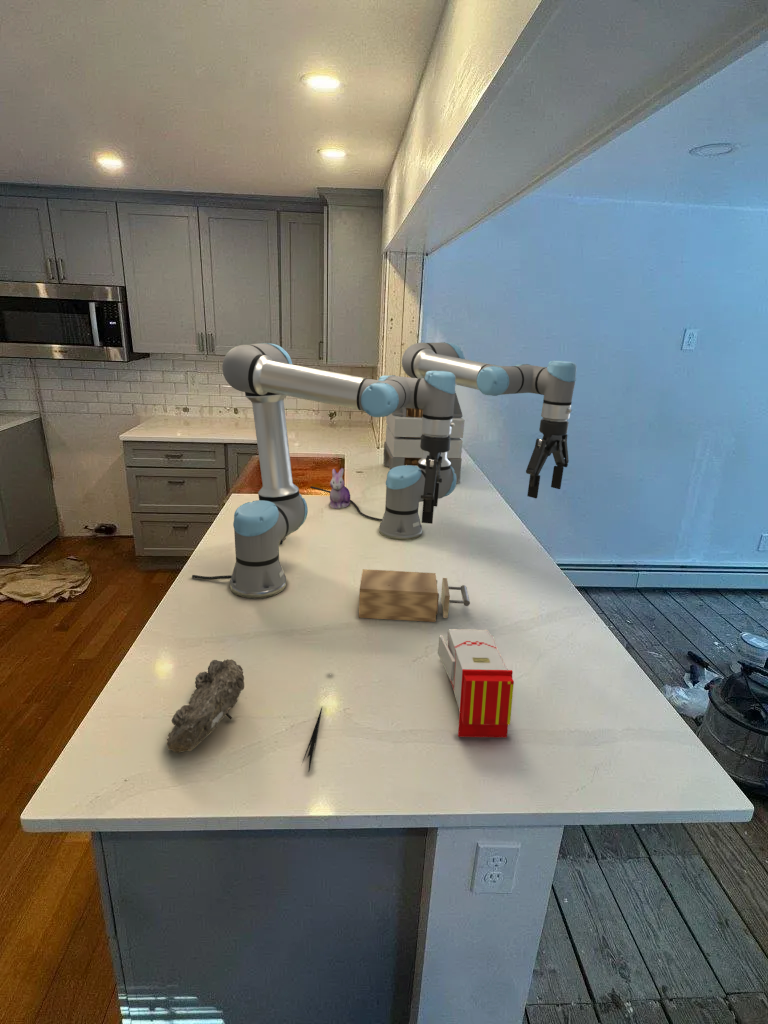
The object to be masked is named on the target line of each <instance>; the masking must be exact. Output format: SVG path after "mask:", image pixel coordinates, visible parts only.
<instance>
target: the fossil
mask: <svg viewBox="0 0 768 1024" xmlns="http://www.w3.org/2000/svg"><path fill="white" fill-rule="evenodd" d="M243 670H244V669H243V667H242V665H240V664H237V662H236V661H235V660H234V659H232V658H231V659H227V658H226V659H224V660H223V661H222V660H217V659H212V660H211V661H210V663H209V665H208V666H207V671H201V672H199V673H198V674H197V675H196V676H195V680H194V684H195V685H194V687H195V689H194V690H193V693H192V694H191V697H190V698H189V700H188V704H184V705H182V706H181V707H180V709H177V710H176V711H175V713H174V715H173V716H172V718H171V723H172V724H173V727H172V730H171V731H170V732H168V734H167V738H166V741H167V742H166V745H167V749H168V750H169V751H173V752H174V753H176V754H178V753H182V752H188V751H189V752H192V751H193V750H195V748H196V747H197V746H199V744H200V743H201V742H203V741H204V740H205V739H206V738H207V737H208V736H209V735H210V734H211V733H212V732H214V730H215V729H217V727H218V726H219V724H220V722H221V721H222V720H223V719H224V718H225V716H226V717H227V719H229V720H233V717H232V715H230V714H229V710H230V709H231V708H234V706H235V704H236V703H237V702H238V699H239V697H240V695H241V693H242V691H243V690H245V689H244V688H245V675H244V671H243Z"/></svg>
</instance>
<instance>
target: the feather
mask: <svg viewBox="0 0 768 1024" xmlns="http://www.w3.org/2000/svg"><path fill="white" fill-rule="evenodd" d="M329 675H330V676H331V675H332V674H331V673H330V674H329ZM322 710H323V707H321V708H320V710H319V713H318V716H317V719H316V723H315V725H314V728H313V731H312V733H311V737H310V739H309V742H308V745H307V748H306V751H305V754H304V757H303V760H302V763H301V767H302V765H303V763H304V761H305V758H308V759H309V760H308V762H307V763H308V764H307V766H308V771H310V770H311V766H312V765H311V764H312V760H313V757H315V756H314V755H315V751H316V749H315V746H317V739H318V733H319V729H320V722H321V717H322V712H323V711H322ZM313 754H314V755H313ZM306 755H307V757H306Z"/></svg>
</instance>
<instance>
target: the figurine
mask: <svg viewBox="0 0 768 1024" xmlns="http://www.w3.org/2000/svg"><path fill="white" fill-rule="evenodd" d="M331 474H332V475H331V476H332V477H331V480H330V482H329V485H330V488H331V489H330V491H331V492H330V493H329V500H330V501H329V506H330V508H331V509H344V508H345V509H346V508H347V507H349V506H350V503H351V502H350V500H351V494H350V493H351V492H350V490H349V489H348V488H347V486H345V480H344V479H343V475H344V468H343V467H341V468H339V471H338V472H337V470H336V468H333V469H331Z"/></svg>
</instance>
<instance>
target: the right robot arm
mask: <svg viewBox="0 0 768 1024" xmlns="http://www.w3.org/2000/svg"><path fill="white" fill-rule="evenodd" d="M401 367H402V370H403V371H404V373H405V375H407V377H409V378H424V377H425V374H426V372H427V371H447V372H451V373H453V374H454V375H455V387H456V386H460V387H464V388H469V389H472V390H473V389H474V390H477V391H479V392H480V393H481V394H483V395H484V396H494V397H498V396H503V395H515V394H535V395H541V396H543V400H542V407H541V413H540V417H541V419H540V421H539V427H538V428H539V433H541V434H542V438H538V437H537V438H536V439H535V444H534V448H533V451H532V452H531V455H530V459H529V462H528V464H527V467H526V469H525V474H528V475H529V481H528V489H527V495H526V496H527V497H529V498H532V499H538V497H539V488H540V481H541V475H540V473H541V472H542V469H543V467H544V465H545V463H546V461H547V459H548V458H549V457H550V456H551V455H552V457H553V460H554V463H555V465H553V471H552V477H551V482H550V483H551V484H550V487H551V488H552V489H557V490H561V488H562V481H563V474H564V470H565V469H564V468H568V466H569V461H570V460H569V451H568V450H569V449H568V431H569V419H570V417H571V413H572V402H573V401H572V400H573V396H574V395H573V394H574V390H575V385H576V381H577V363H575V362H573V361H568V360H567V361H565V360H551V361H549V362H548V364H547V366H540V365H534V364H533V365H532V364H529V363H522V364H521V363H519V364H516V365H496V364H491V363H486V362H482V361H475V360H470V359H467V358H466V357H465V354H464V351H463V350H462V349H461V347H460V346H459V345H457V344H456V343H452V342H445V341H444V342H415V343H414V344H411V345H410V346H408V347H407V348H406V349H405V351H404V352H403V354H402V357H401ZM427 455H429V452H428V451H424V450H423V457H422V458H421V459H420V460H419V461H418V466H413V465H402V466H397V467H394V468H392V469H391V470H390V469H389V470H388V472H387V475H386V479H385V504H384V505H385V507H384V508H385V509H384V513H383V515H382V518H378V517H374V516H371V515H367V514H365V513H363V512H362V511H361V510H360V508H359V506H358V505H357V504H356V503H355V502H354V500H351V499H350V503H351V504H352V505H353V506H354V507H355V508H356V511H357V512H358V513H359V514H360V515H361V516H363V517H365V518H367V519H370V520H374V521H378V522H379V526H378V533H379V534H380V535H381V536H382V537H385V538H387V539H389V540H395V541H410V540H415V539H418V538H420V537H421V536H422V535H423V525H422V524H421V523H422V521H421V518H420V515H419V507H420V506H419V505H420V503H423V499H421V495H423V494H424V485H425V477H426V473H425V469H426V458H427ZM441 457H442V463H441V469H440V478H441V479H442V483H440V482H437V483H439V492H438V500H439V499H442V498H444V497H448V496H450V495H451V494H452V493H453V492H454V491H455V489H456V485H457V483H456V481H457V478H456V474H455V473H454V472H455V471H454V469H453V468H452V467H451V462H450V461H449V460H448V459H447V452H444V453H441ZM309 488H310V489H313V490H317V491H322V492H325V493H327V494H330V492H331V490H328V489H324V488H320V487H317V486H316V487H315V486H312V485H311V486H310V487H309ZM427 494H428V493H427Z"/></svg>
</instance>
